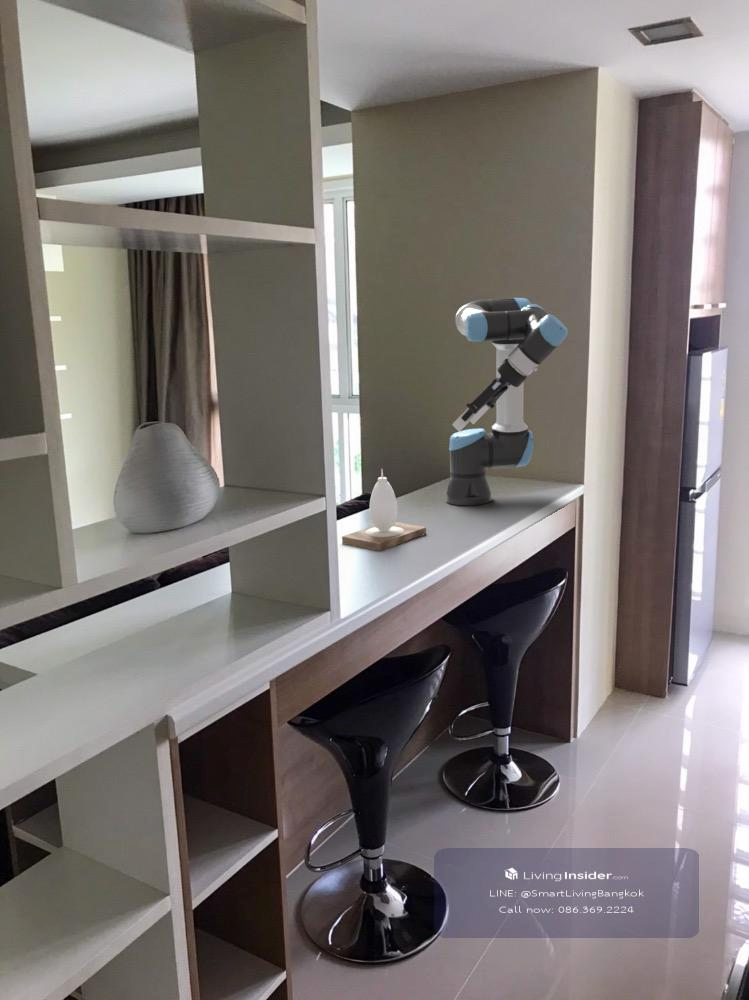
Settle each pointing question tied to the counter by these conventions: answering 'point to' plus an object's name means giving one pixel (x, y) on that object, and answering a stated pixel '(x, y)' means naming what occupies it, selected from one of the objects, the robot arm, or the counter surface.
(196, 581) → the counter surface
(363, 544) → the walnut board
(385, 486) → the white pear with stem
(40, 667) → the counter surface
